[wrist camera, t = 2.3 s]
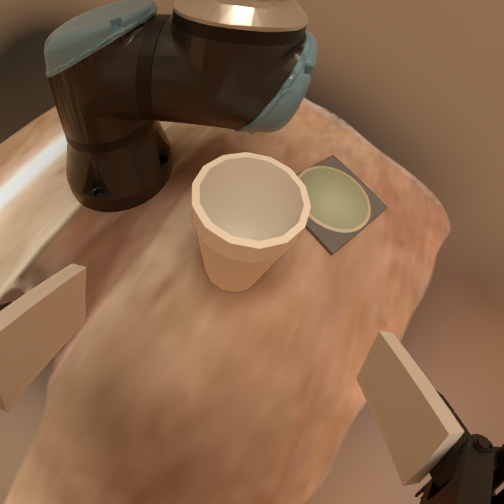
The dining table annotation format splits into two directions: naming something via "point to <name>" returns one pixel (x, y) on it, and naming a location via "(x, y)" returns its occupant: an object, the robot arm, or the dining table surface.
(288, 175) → the foam cup
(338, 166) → the square coaster
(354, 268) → the dining table surface
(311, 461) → the dining table surface
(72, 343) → the dining table surface
